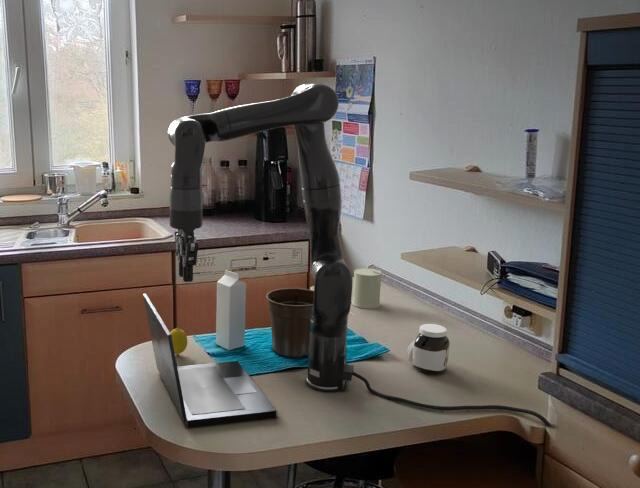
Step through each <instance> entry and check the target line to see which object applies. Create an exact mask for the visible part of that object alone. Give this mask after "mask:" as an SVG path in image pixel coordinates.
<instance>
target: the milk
mask: <svg viewBox="0 0 640 488" xmlns="http://www.w3.org/2000/svg"><path fill="white" fill-rule="evenodd" d="M239 277H240V276H239V273H236V272H234V271H230V270H228V269H225V270H224V275H223V276H222V277H221V278H219V279H218V280H217V282H216V310H215V311H216V313H215V314H216V316H215V317H216V318H215V319H216V320H215V321H216V323H215V345H217V346H218V347H221V348H223V349H225V350H227V351H231V350H235V349H239V348H242V347H245V344H246V309H247V307H246V304H247V303H246V302H247V283H246V282H244V281H243V280H241V279H239Z"/></svg>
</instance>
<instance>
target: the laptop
mask: <svg viewBox="0 0 640 488" xmlns="http://www.w3.org/2000/svg"><path fill="white" fill-rule="evenodd" d="M177 369H178V374H179V379H180V385H181V390H182V396H183V401H184V407H185V412H186V417H187V421H183V422H184V424H185V426H186V427H187V429H191V428H200V427H206V426H207V427H208V426H216V425H217V426H218V425H226V424H234V423H243V422H252V421H261V420H268V419H277V412H278V411H277V408H275V407H274V405H273V404H272V403H271V401H269V399H268V398H267V396H266V395H265V394H264V393H263V391H262V390H261V389H260V387H258V385H257V383H256V382H255V381H254V380H253V379H252V378H251V376H250V375H249V373H247V371H246V370H245V369H244V367H243V366H242V365H241V363H240V362H239V361H238V360H232V361H221V362H211V363H209V362H208V363H199V364H190V365H179V366H178V365H177Z"/></svg>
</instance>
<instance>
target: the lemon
mask: <svg viewBox="0 0 640 488" xmlns="http://www.w3.org/2000/svg"><path fill="white" fill-rule="evenodd" d="M169 332H170V333H171V336H172V341H173V347H174V352H175V356H179V355H180V354H182V353H184V352H185V350H186V349H187V346H188V336H187V333H186V332H185V331H184V330H183V329H182V328H179V327H176V328H173V329H172V330H171V331H169Z"/></svg>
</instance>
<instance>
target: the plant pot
mask: <svg viewBox="0 0 640 488" xmlns="http://www.w3.org/2000/svg"><path fill="white" fill-rule="evenodd" d="M265 299H266V300H267V306H268V311H269V317H270V318H269V319H270V331H271V343H272V352H276V354H277V355H279V356H282V357H285V358H302V357H303V356H306V357H308V356H309V334H310V313H311V308H312V307H313V300H314V289H308V288H302V287H301V288H300V287H285V288H283V287H282V288H277V289H274V290H271V291H269V292H267V293H266V295H265Z"/></svg>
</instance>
